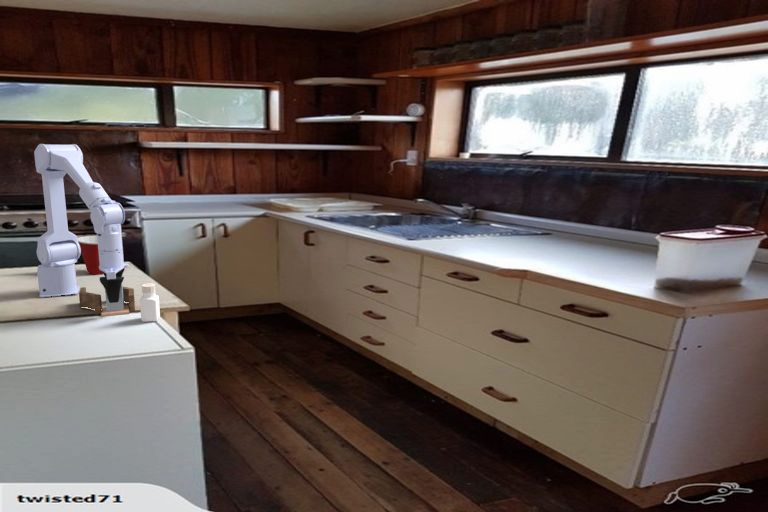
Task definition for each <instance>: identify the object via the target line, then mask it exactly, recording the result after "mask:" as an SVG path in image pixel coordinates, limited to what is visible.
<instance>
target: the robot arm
mask: <svg viewBox="0 0 768 512" xmlns="http://www.w3.org/2000/svg"><path fill="white" fill-rule="evenodd" d="M33 154H34V162H35V163H34V164H35V169H36V170H35V171H36V173H38V174H41V180H42V182H41V183H42V189H43V190H42V191H43V198H44V207H45V217H46V219H45V220H46V227H47V231H45V233H43V234H42V235H41V236H39V237H38V238H37V248H36V256H37V259H38V261H39V262H40V263H41V264H44V265H41V264H39V265H38V266H37V269H36V271H37V282H38V292H39V298H49V297H51V296H52V297H62V296H61V295H65V296H72V295H71V294H77V295H79V291H80V288H81V286H80V285H78V283H77V274H76V273H77V272H76V271H77V270H76V264H75V263H78V259H80V256H81V254H82V252H81V248H80V245H79V243H78V238H79V237H78V236H77V235H76V234H74V233H73V232H71V231H69V227H68V217H67V215H68V214H67V206H66V205H67V204H66V196H65V195H66V194H65V185H64V177H65V176H66V174H67V175H68V176H69V177H70V178H71V180H72V181H73V182H74V183H75V184H76V185H77V186H78V187H79V191H78V195H79V197H80V198H81V200H82V202H84V204H85V205H86V207H87V208H88V209H89V211H90V214H89V217H90V221H91V224H93V230H94V233H96V236H97V240H98V251H99V263H100V265H99V269H100V270H101V271H102V273H103V274H102V275H103V276H99V282H100V284H101V285H102V287H103V288H104V291H106V294H107V297H108V300H109V302H110V303H116V302H118V301H119V295H120V287H121V284H122V285H123V281H124V279H125V277H124V276H123V274H124V272H125V270H126V269H125V268H127V269H128V268H129V263H125V262H124V247H123V235H122V225H123V224H124V223H125V221H126V213H125V212H126V211H125V209H124V207H123V206H122V204H121V203H120V202H117V201H116V200H112V199H111V198H110V196H109V195H108V193H107V192H106V191H105V189H104V187H102V185H101V184H100V183H98V182H95V181H93V179H92V177H91V176H90V173H89V172H88V170H87V169H86V167H85V165H84V154H83V151H82V150H81V148H80V147H79V145H77V144H75V143H72V144H44V143H39V144H38V145H37V147H36V148H35V150H34V152H33ZM106 294H105V295H106Z"/></svg>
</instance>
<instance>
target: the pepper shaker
mask: <svg viewBox="0 0 768 512" xmlns="http://www.w3.org/2000/svg"><path fill="white" fill-rule="evenodd" d="M141 291H142V292H141V294H142V296H141V297H140V299H139V305H140V320H141V322H147V323H149V322H157V321H158V320H159V318H160V316H161V312H160V311H161V310H160V297H159V295H157V294H156V292H157V291H156V284H155V283H152V282H151V283H149V282H148V283H143V284H142V285H141Z"/></svg>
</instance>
